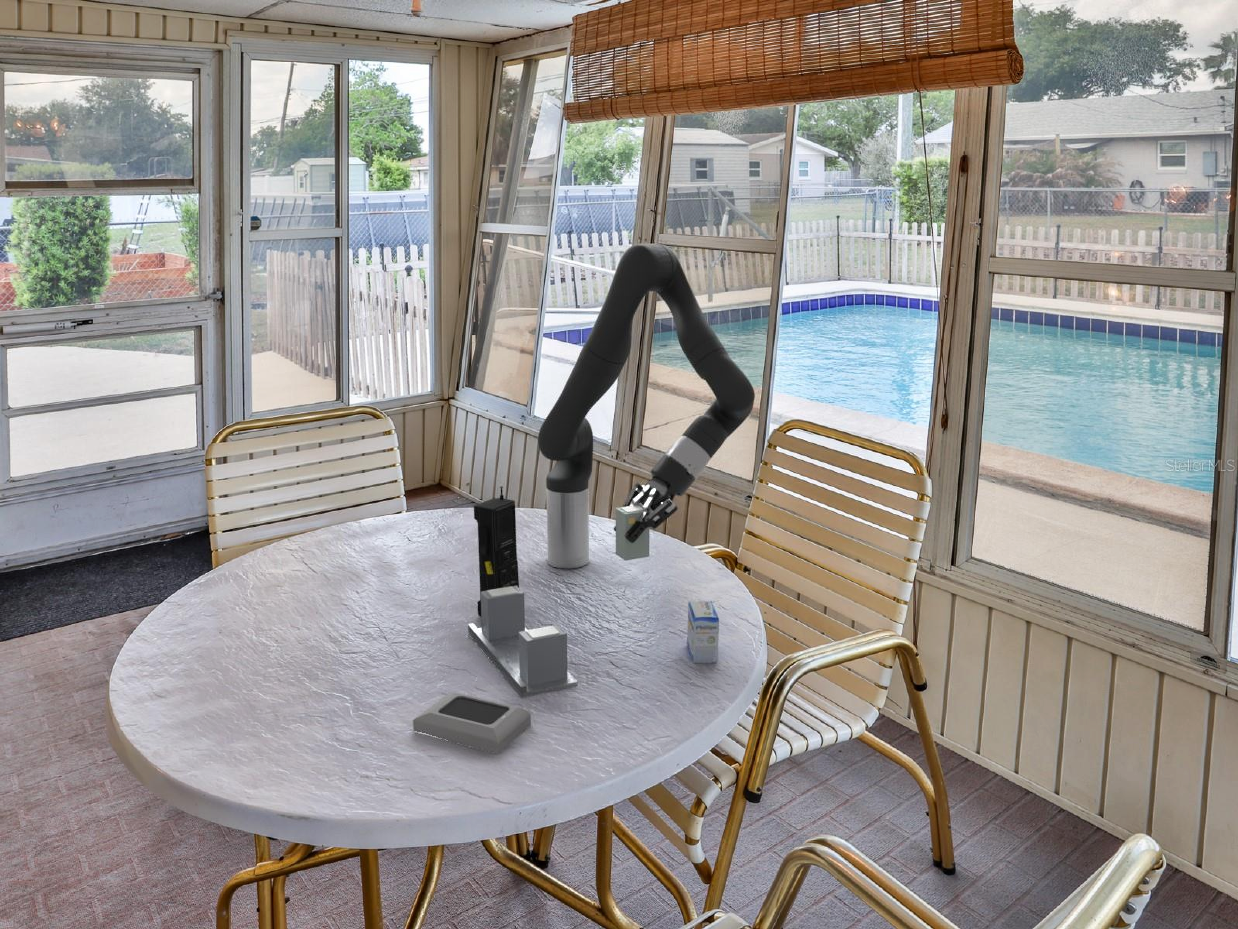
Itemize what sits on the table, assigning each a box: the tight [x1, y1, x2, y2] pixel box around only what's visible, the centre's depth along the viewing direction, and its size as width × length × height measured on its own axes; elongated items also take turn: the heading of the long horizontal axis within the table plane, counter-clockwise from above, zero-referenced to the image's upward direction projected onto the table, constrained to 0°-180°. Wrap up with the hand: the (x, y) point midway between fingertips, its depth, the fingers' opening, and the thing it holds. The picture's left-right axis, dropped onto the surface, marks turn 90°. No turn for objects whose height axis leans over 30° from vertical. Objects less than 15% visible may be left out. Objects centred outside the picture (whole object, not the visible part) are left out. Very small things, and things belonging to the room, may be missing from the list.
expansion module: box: [615, 505, 651, 561], centre depth 191 cm, size 4×5×9 cm
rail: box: [467, 622, 579, 699], centre depth 181 cm, size 28×10×2 cm, turn 26°
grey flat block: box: [412, 692, 532, 755], centre depth 157 cm, size 10×4×15 cm
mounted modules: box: [480, 586, 568, 686], centre depth 180 cm, size 24×7×8 cm, turn 26°
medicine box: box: [686, 600, 720, 664], centre depth 182 cm, size 8×4×9 cm, turn 5°
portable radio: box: [473, 486, 520, 618], centre depth 197 cm, size 8×6×25 cm
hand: (623, 536), depth 191 cm, fingers closed on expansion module, 4 cm apart
